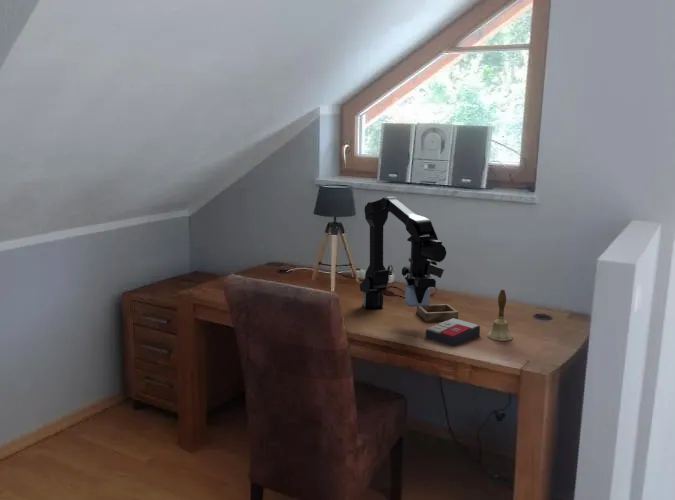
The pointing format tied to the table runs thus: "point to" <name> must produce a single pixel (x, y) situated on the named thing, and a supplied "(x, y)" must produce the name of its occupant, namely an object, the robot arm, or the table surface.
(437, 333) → the grey and red box
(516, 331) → the table surface
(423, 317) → the walnut crate
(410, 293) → the small crate
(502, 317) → the hand bell
